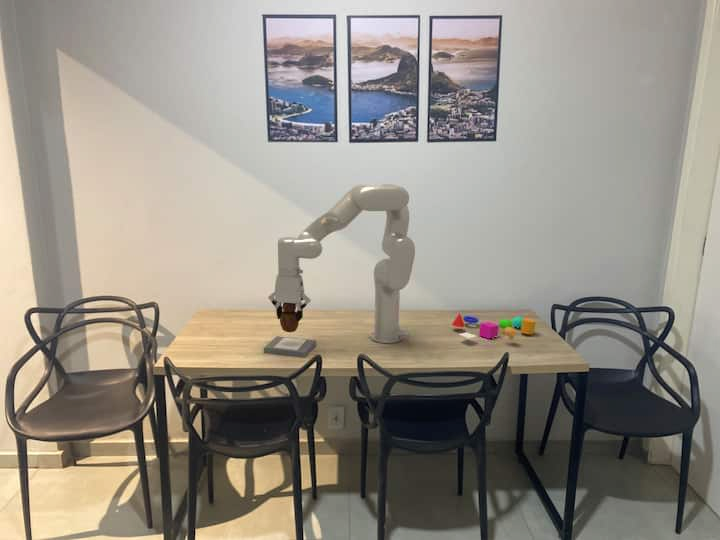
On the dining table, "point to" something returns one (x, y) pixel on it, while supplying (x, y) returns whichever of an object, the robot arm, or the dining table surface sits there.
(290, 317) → the wooden figurine
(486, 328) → the shape set
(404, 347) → the dining table surface
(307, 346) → the display base
